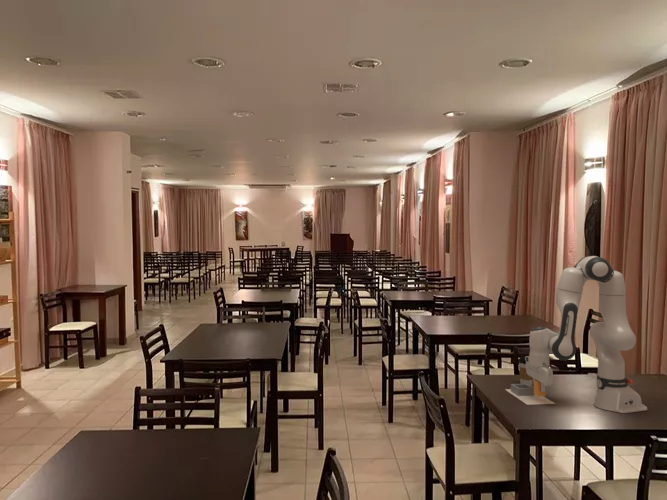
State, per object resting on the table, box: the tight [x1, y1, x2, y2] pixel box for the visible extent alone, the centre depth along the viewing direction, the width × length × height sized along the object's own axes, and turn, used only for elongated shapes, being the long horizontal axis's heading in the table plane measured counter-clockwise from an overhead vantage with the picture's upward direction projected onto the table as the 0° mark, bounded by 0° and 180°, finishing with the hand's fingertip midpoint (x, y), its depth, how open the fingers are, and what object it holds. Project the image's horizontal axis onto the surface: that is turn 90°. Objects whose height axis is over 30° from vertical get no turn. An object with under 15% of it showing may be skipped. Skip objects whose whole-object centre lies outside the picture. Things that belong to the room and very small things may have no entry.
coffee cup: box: [517, 356, 534, 387], centre depth 280 cm, size 8×8×15 cm
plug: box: [533, 379, 547, 397], centre depth 251 cm, size 4×4×9 cm
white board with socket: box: [504, 383, 556, 406], centre depth 258 cm, size 14×24×4 cm, turn 6°
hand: (539, 389), depth 251 cm, fingers closed on plug, 4 cm apart
